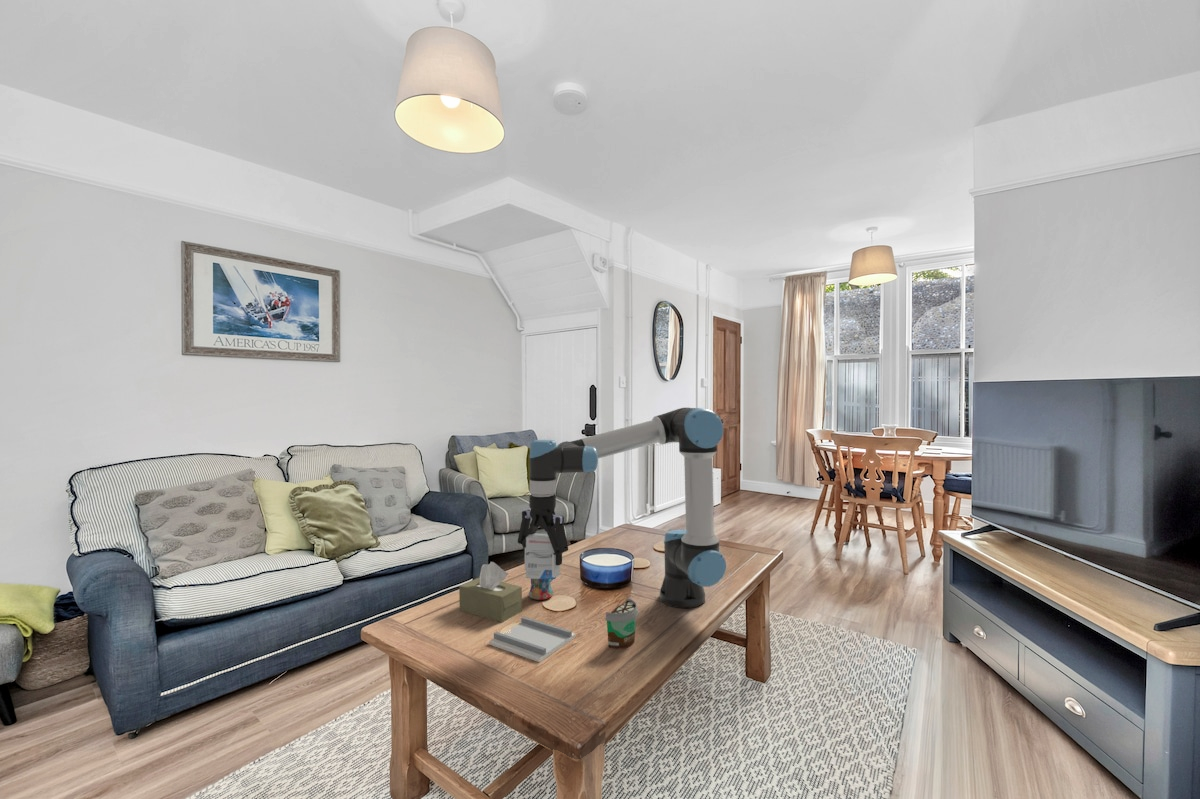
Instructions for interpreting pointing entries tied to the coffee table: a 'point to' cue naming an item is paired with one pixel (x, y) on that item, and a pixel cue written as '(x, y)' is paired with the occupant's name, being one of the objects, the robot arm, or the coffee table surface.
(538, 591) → the mug
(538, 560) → the ink box
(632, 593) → the coffee table surface
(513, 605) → the tissue box
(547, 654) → the rail mount
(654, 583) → the coffee table surface
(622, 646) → the food container
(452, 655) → the coffee table surface
